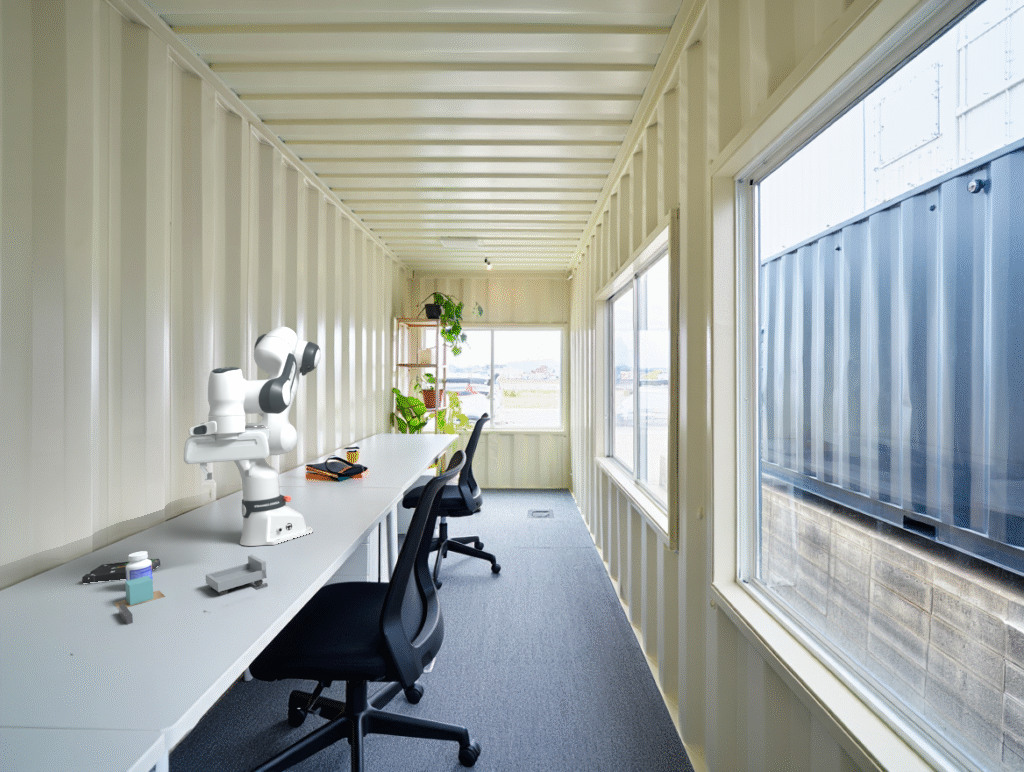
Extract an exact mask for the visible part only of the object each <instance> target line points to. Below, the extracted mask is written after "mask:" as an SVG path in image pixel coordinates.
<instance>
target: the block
mask: <svg viewBox="0 0 1024 772" xmlns="http://www.w3.org/2000/svg"><path fill="white" fill-rule="evenodd" d="M124 582H125V584H124V586H125V600H126V601H127V602H128V603H129V604H130V605H134V604H137V603H141V602H144V601H148V600H151V599H154V597H153V592H154V579H153V580H152V579H151V578H150V577H149V576H145V577H141V578H137V579H133V580H129V581H127V580H124Z"/></svg>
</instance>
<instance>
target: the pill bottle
mask: <svg viewBox="0 0 1024 772" xmlns="http://www.w3.org/2000/svg"><path fill="white" fill-rule="evenodd" d="M148 553H149V552H148V551H147V550H141V551H136V552H132V553H129V554H128V556H127V557H128V558H127V559H128V562H129V561H130V563H128V564H127V565H126V580H125V581H129V580H133V579H137V578H141V577H145V576H149V577H150V578H151V579H152V580H153V581H154V579H153V576H154V575H153V571H152V562H151V560H149V559H150V558H148V557H149V555H148Z"/></svg>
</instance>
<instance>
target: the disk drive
mask: <svg viewBox="0 0 1024 772" xmlns="http://www.w3.org/2000/svg"><path fill="white" fill-rule="evenodd" d="M148 559H149V560H151V562H152V570H153V569H155V568H156V567H157V566H159V565H160V566H161V560H160V559H159V558H148ZM128 563H130V561H129V560H128V561H122V562H113V563H111V562H110V563H105V564H101V565H99V566H98V567H96V568H94V569H92V570H91V571H90V573H86V574H85V575H83V576H82V577H81V583H90V582H98V581H109V580H119V581H121V580H120V579H126V565H127V564H128ZM160 566H159V567H160ZM156 569H157V568H156ZM156 569H155V570H156Z"/></svg>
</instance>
